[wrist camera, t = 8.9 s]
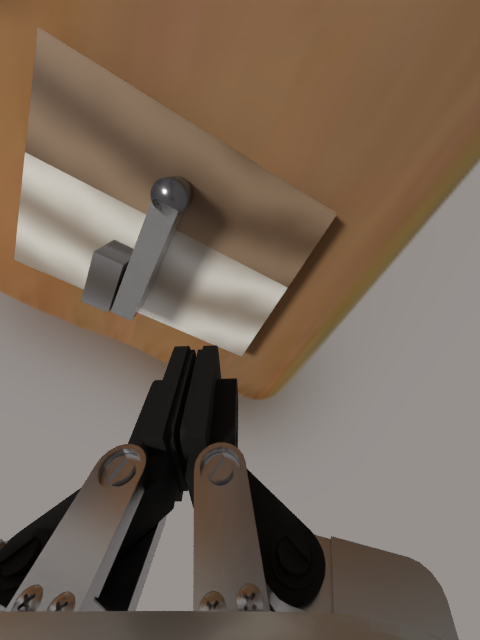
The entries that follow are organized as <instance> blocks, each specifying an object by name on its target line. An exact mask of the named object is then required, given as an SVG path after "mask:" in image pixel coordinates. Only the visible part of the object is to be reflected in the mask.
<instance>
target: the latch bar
mask: <svg viewBox="0 0 480 640" xmlns="http://www.w3.org/2000/svg"><path fill="white" fill-rule="evenodd" d="M150 196H151V204H150V206H149V209H148V212H147V214H146V217H145V220H144V223H143V225H142V228H141V231H140V233H139V236H138V239H137V241H136V244H135V247H134V250H133V252H132V255H131V258H130V260H129V263H128V266H127V269H126V271H125V274H124V277H123V279H122V282H121V285H120V287H119V290H118V293H117V296H116V298H115V301H114V304H113V306H112V309H111V312H113V313H115V314H117V315H119V316H122V317H124V318H126V319H128V320H131V321H132V320H133V319H134V317H135V316H136V314H137V313H138V312H139V310H140V309H141V307H142V306H143V304H144V302H145V300H146V298H147V296H148V293H149V291H150V289H151V286H152V284H153V282H154V279H155V277H156V275H157V272H158V270H159V268H160V266H161V263H162V261H163V259H164V256H165V254H166V252H167V249H168V247H169V245H170V243H171V240H172V238H173V236H174V233H175V231H176V229H177V226H178V224H179V222H180V220H181V217H182V215H183V213H184V210H185V209H186V208H188V207H189V206H190V205H191V203H192V201H193V197H194V193H193V188H192V186H191V184H190V183H189V182H188V181H187V180H186V179H185V178H183V177H180V176H171V177H165V178H161V179H158V180H157V181H156V182H155V183H154V184H153V186H152V188H151V192H150Z"/></svg>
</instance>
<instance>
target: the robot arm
mask: <svg viewBox="0 0 480 640" xmlns="http://www.w3.org/2000/svg"><path fill="white" fill-rule="evenodd" d="M188 489H189V493H190V497H191V501H192V504H193V508H194V593H193V594H194V595H193V599H194V600H193V602H194V604H193V611H135V610H136V607H137V604H138V601H139V598H140V596H141V593H142V590H143V587H144V584H145V581H146V577H147V575H148V572H149V569H150V566H151V563H152V560H153V557H154V554H155V551H156V548H157V545H158V542H159V539H160V536H161V533H162V530H163V527H164V524H165V520H166V515H167V514H168V513H169V512H170V511H171V510H172V509H173V508H174V503H175V501H182V495H183V491H188ZM270 611H271V612H270ZM0 640H459V639H458V636H457V632H456V629H455V625H454V622H453V618H452V615H451V611H450V608H449V604H448V601H447V598H446V596H445V594H444V592H443V589H442V587H441V585H440V584H439V582H438V581H437V580H436V578H435V577H434V576H433V574H432V573H431V572H430V571H429V570H428V569H427V568H426V567H424V566H423V565H422V564H421V563H420V562H417V561H415V560H413V559H411V558H409V557H405V556H402V555H398V554H395V553H391V552H387V551H384V550H380V549H376V548H372V547H369V546H365V545H362V544H358V543H354V542H351V541H347V540H343V539H339V538H336V537H332V536H331V539H328V538H325V537H321V536H317V535H314V534H313V533H312V532H311V531H310V529H308V528H307V527H306V526H305V525H304V524H303V523H302V522H301V521H300V520H299V519H298V518H297V517H296V516H295V515H294V514H293V513H292V512H291V511H290V510H289V509H288V508H287V507H286V506H285V505H284V504H283V503H282V502H281V501H280V500H278V499H277V498H276V497H275V496H274V495H273V494H272V493H271V492H270V491H269V490H268V489H267V488H266V487H265V486H264V485H263V484H262V483H261V482H260V481H259V480H258V479H257V478H256V477H255V476H254V475H252V473H251V472H250V471H249V470H248V469H247V468H246V462H245V459H244V456H243V454H242V453H241V451H240V450H239V449H238V388H237V379H221V372H220V362H219V352H218V346H203V350H198V352H197V357H196V353H195V350H190V347H189V346H179V347H174V350H173V352H172V355H171V358H170V361H169V364H168V367H167V369H166V372H165V375H164V378H163V380H155V381H154V382H153V383H152V385H151V387H150V390H149V393H148V395H147V398H146V400H145V403H144V405H143V407H142V410H141V413H140V415H139V418H138V420H137V423H136V425H135V428H134V430H133V433H132V435H131V438H130V440H129V443H128V444H124V445H120V446H117V447H115V448H113V449H111V450H110V451H108V452H107V453H106V454H105V455H104V456H102V457H101V459H100V460H99V461H98V463H97V464H96V465H95V467H94V469H93V470H92V472H91V473H90V475H89V477H88V478H87V480H86V481H85V483H84V485H83V486H82V488H80V489H79V490H77V491H76V492H75V493H74V494H72V495H70V496H69V497H68V498H66V499H65V500H63V501H62V502H61V503H59V504H58V505H56V506H55V507H54V508H52V509H51V510H49V511H48V512H47V513H45V514H44V515H42V516H41V517H40V518H38V519H37V520H35V521H34V522H33V523H31V524H30V525H28V526H27V527H26V528H24V529H23V530H21V531H20V532H19V533H17V534H16V535H15V536H14V537H12V538H11V539H10V540H9V541H5V542H4V541H3V540H2V539H0Z"/></svg>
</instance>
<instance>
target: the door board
mask: <svg viewBox="0 0 480 640" xmlns="http://www.w3.org/2000/svg"><path fill="white" fill-rule="evenodd" d="M171 176H180V177H183V178H185V179H186V180H187V181H188V182H189V183H190V184H191V186H192V188H193V193H194V197H193V201H192V203H191V205H190V206H189V207H188V208H186V209H185V210H184V213H183V215H182V217H181V220H180V222H179V224H178V226H177V229H176V231H175V233H174V236H173V238H172V240H171V243H170V245H169V247H168V249H167V252H166V254H165V256H164V259H163V261H162V263H161V266H160V268H159V270H158V272H157V275H156V277H155V279H154V282H153V284H152V286H151V289H150V291H149V293H148V296H147V298H146V300H145V302H144V304H143V306H142V307H141V309H140V310H139V312H138V313H140V314H143V315H145V316H147V317H150V318H152V319H154V320H157V321H159V322H161V323H164V324H166V325H168V326H171V327H173V328H176V329H178V330H180V331H183V332H185V333H187V334H190V335H192V336H194V337H197V338H199V339H201V340H204V341H206V342H208V343H211V344H213V345H216V346H218V347H220V348H223V349H225V350H227V351H230V352H232V353H234V354H237V355H239V356H241V357H242V355H243V354H244V352H245V351H246V349H247V348H248V346H249V345H250V343H251V342H252V340H253V339H254V337H255V336H256V334H257V333H258V331H259V330H260V328H261V327H262V325H263V324H264V322H265V321H266V319H267V318H268V316H269V315H270V313H271V312H272V310H273V309H274V308H275V306H276V305H277V303H278V302H279V300H280V299H281V297H282V296H283V294H284V293H285V291H286V290H287V288H288V287H289V285H290V284H291V282H292V281H293V279H294V278H295V276H296V275H297V273H298V272H299V270H300V269H301V267H302V266H303V264H304V263H305V261H306V260H307V258H308V257H309V255H310V254H311V252H312V251H313V249H314V248H315V246H316V245H317V243H318V242H319V240H320V239H321V237H322V236H323V234H324V233H325V231H326V230H327V228H328V227H329V225H330V224H331V222H332V221H333V219H334V218H335V216H336V215H337V213H335V212H334V211H332V210H330V209H329V208H327V207H326V206H324V205H322V204H321V203H319V202H318V201H316V200H314V199H313V198H311V197H310V196H308V195H306V194H305V193H303V192H301V191H300V190H298V189H297V188H295V187H293V186H292V185H290V184H289V183H287V182H285V181H284V180H282V179H281V178H279V177H277V176H276V175H274V174H273V173H271V172H269V171H268V170H266V169H265V168H263V167H261V166H260V165H258V164H257V163H255V162H253V161H252V160H250V159H249V158H247V157H245V156H244V155H242V154H241V153H239V152H237V151H236V150H234V149H233V148H231V147H229V146H228V145H226V144H225V143H223V142H221V141H220V140H218V139H217V138H215V137H213V136H212V135H210V134H209V133H207V132H205V131H204V130H202V129H200V128H199V127H197V126H196V125H194V124H192V123H191V122H189V121H188V120H186V119H184V118H183V117H181V116H180V115H178V114H176V113H175V112H173V111H172V110H170V109H168V108H167V107H165V106H164V105H162V104H160V103H159V102H157V101H156V100H154V99H152V98H151V97H149V96H148V95H146V94H144V93H143V92H141V91H140V90H138V89H136V88H135V87H133V86H132V85H130V84H128V83H127V82H125V81H124V80H122V79H120V78H119V77H117V76H116V75H114V74H112V73H111V72H109V71H108V70H106V69H104V68H103V67H101V66H99V65H98V64H96V63H95V62H93V61H91V60H90V59H88V58H87V57H85V56H83V55H82V54H80V53H79V52H77V51H75V50H74V49H72V48H71V47H69V46H67V45H66V44H64V43H63V42H61V41H59V40H58V39H56V38H55V37H53V36H51V35H50V34H48V33H47V32H45V31H43V30H42V29H40V28H39V27H38V32H37V41H36V51H35V61H34V71H33V81H32V90H31V100H30V110H29V120H28V130H27V139H26V149H25V159H24V169H23V178H22V188H21V198H20V208H19V218H18V227H17V237H16V247H15V257H14V260H15V261H18V262H20V263H23V264H25V265H27V266H30V267H32V268H34V269H37V270H39V271H41V272H44V273H46V274H48V275H51V276H53V277H56V278H58V279H60V280H63V281H65V282H67V283H70V284H72V285H74V286H77V287H79V288H81V289H84V291H83V295H82V299H81V301H82V302H84V303H87V304H89V305H92V306H94V307H96V308H99V309H101V310H104V311H106V312H109V311H110V310H111V309H112V306H113V304H114V301H115V298H116V296H117V293H118V290H119V287H120V285H121V282H122V279H123V277H124V274H125V271H126V269H127V266H128V263H129V260H130V258H131V255H132V252H133V250H134V247H135V244H136V241H137V239H138V236H139V233H140V231H141V228H142V225H143V223H144V220H145V217H146V214H147V212H148V209H149V206H150V204H151V196H150V192H151V188H152V186H153V184H154V183H155V182H156V181H157V180H158V179H161V178H165V177H171Z"/></svg>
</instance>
